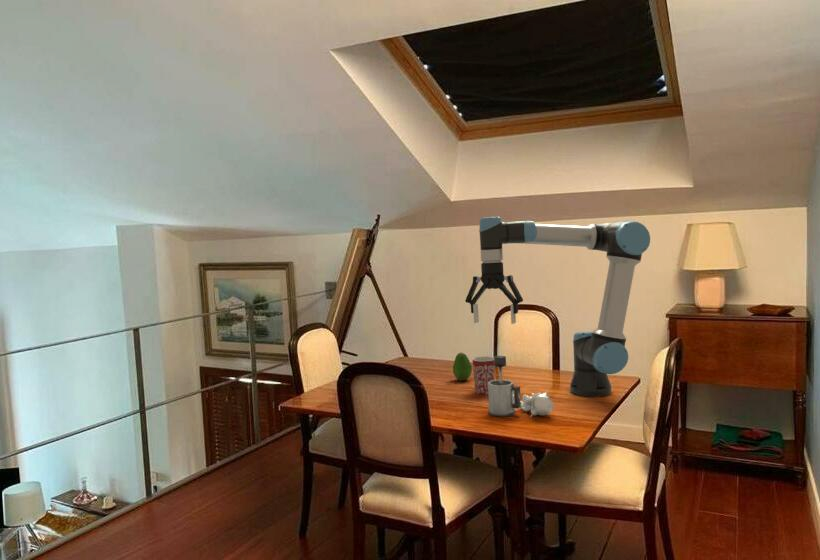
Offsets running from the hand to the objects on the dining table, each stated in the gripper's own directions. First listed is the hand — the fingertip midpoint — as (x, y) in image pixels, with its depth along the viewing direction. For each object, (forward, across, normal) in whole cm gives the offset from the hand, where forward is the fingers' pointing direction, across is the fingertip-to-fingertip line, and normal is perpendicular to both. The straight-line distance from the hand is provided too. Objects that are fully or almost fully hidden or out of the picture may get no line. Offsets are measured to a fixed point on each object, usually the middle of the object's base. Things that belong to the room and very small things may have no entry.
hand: (494, 322), depth 214 cm
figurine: (+31, -13, 0) cm, 34 cm away
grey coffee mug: (+30, -2, +4) cm, 31 cm away
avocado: (+31, +28, -36) cm, 55 cm away
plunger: (+28, -3, +4) cm, 29 cm away
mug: (+31, +14, -21) cm, 40 cm away
